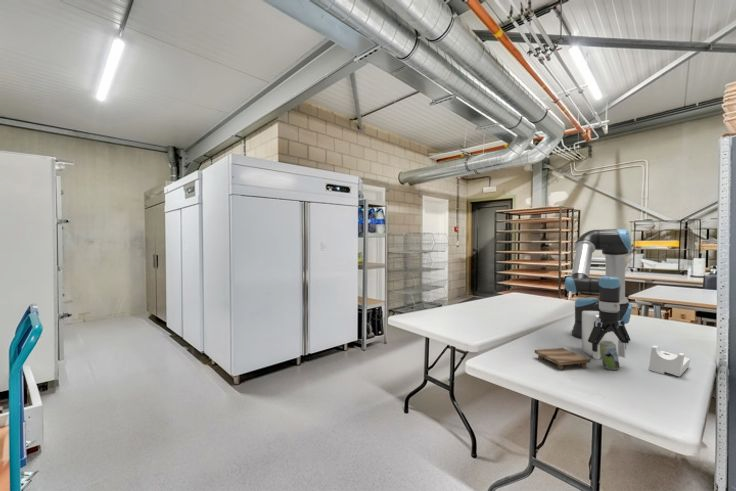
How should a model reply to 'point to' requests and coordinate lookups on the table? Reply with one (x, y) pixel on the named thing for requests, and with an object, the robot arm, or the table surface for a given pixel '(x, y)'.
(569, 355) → the wooden serving board
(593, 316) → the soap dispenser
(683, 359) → the white pipe support bracket
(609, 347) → the beverage can
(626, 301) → the robot arm
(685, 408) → the table surface
